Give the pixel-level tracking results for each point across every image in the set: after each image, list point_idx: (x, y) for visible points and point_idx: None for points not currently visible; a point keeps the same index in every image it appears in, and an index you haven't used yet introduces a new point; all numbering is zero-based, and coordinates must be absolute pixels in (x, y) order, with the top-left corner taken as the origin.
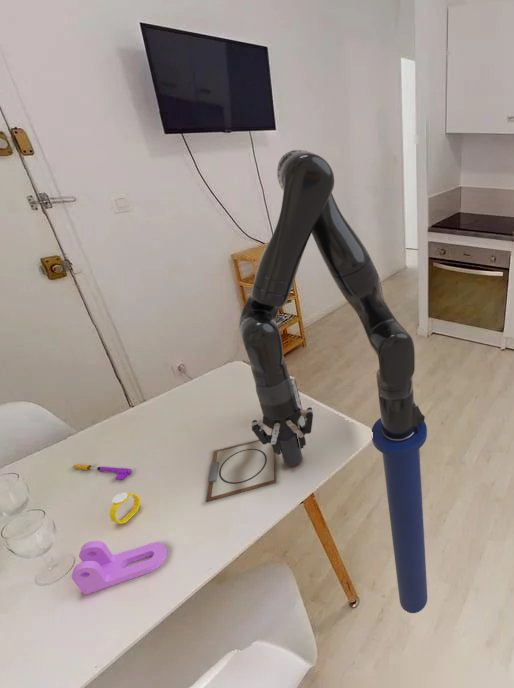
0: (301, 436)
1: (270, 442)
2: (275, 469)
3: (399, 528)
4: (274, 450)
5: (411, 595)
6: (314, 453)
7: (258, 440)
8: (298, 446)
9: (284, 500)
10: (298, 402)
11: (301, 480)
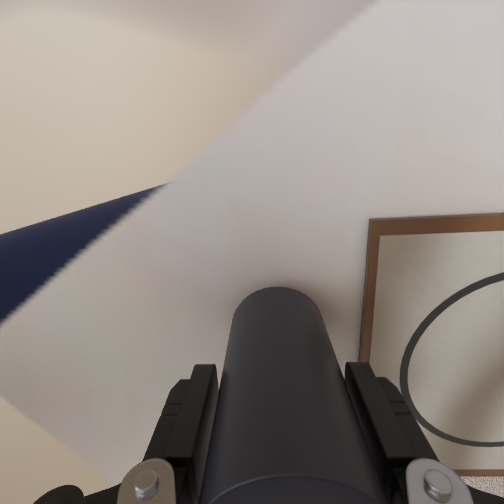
0: (147, 473)
1: (461, 491)
2: (366, 299)
3: (129, 207)
4: (395, 396)
5: None
6: (182, 339)
7: None
8: (221, 382)
9: (336, 79)
10: None
11: (243, 194)
